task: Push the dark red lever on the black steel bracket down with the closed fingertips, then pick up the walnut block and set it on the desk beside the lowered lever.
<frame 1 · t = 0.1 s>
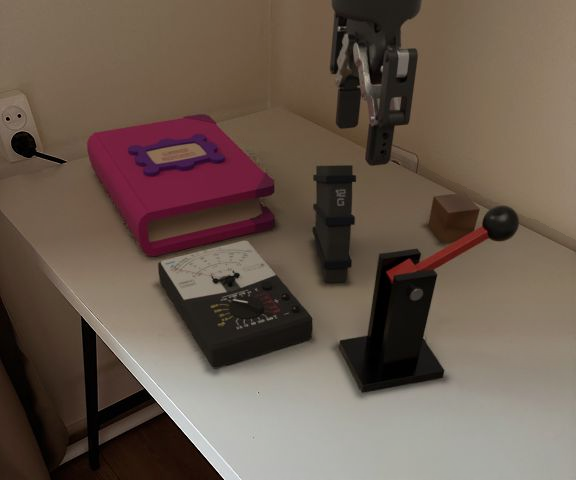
hand: (360, 144, 62), 24 cm above the table, tool pointing down, fingers open, 8 cm apart
block: (449, 232, 96), on the table
magazine: (328, 258, 91), on the table
lever: (453, 250, 66), point 15 cm above the table, hinge at 28.0°
bracket: (389, 362, 75), on the table
book: (180, 201, 101), on the table
multimeter: (232, 312, 82), on the table
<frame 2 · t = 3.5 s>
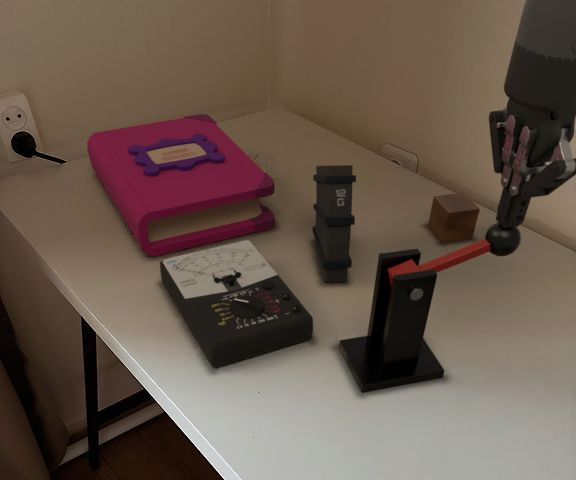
hand: (507, 223, 65), 17 cm above the table, tool pointing down, fingers closed
lever: (455, 257, 67), point 14 cm above the table, hinge at 17.0°, touching gripper
everything else where it was.
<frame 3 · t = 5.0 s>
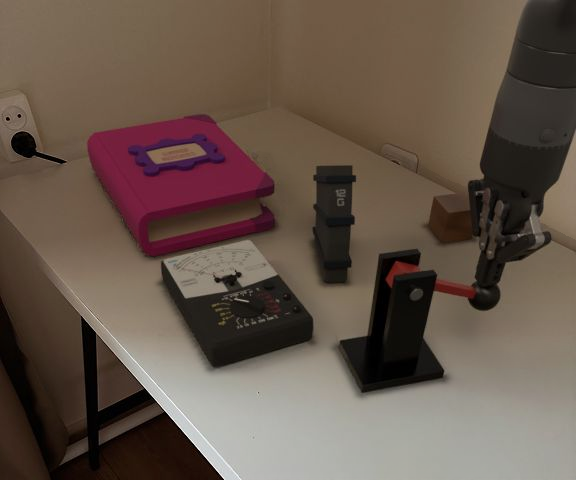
hand: (485, 282, 70), 10 cm above the table, tool pointing down, fingers closed
lever: (447, 287, 69), point 10 cm above the table, hinge at -21.2°, touching gripper
everything else where it was.
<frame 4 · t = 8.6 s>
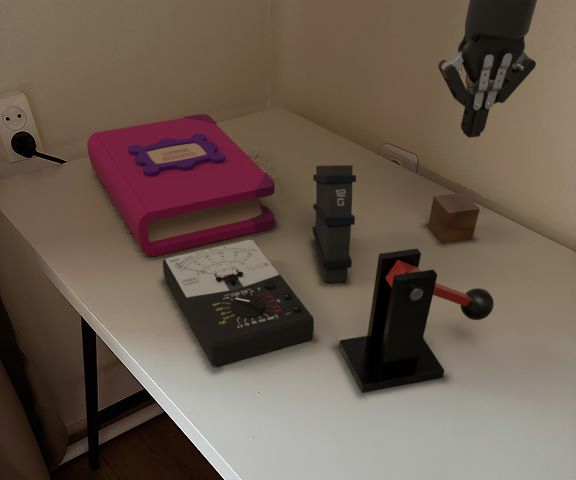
hand: (471, 134, 85), 15 cm above the table, tool pointing down, fingers closed
lever: (443, 292, 70), point 9 cm above the table, hinge at -28.0°
everything else where it was.
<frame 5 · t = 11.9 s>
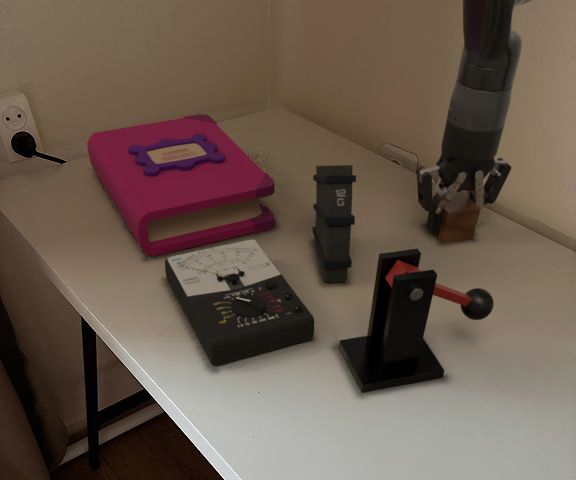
hand: (450, 230, 96), 0 cm above the table, tool pointing down, fingers closed on block, 5 cm apart
block: (449, 232, 96), on the table, touching gripper
everything else where it was.
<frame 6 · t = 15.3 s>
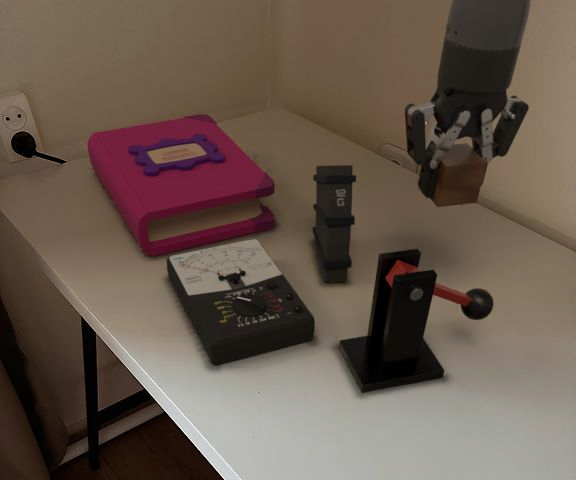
hand: (448, 191, 75), 15 cm above the table, tool pointing down, fingers closed on block, 5 cm apart
block: (447, 194, 75), point 14 cm above the table, touching gripper
everything else where it was.
when the fingers open (0 cm above the table, at t = 18.9 s): block stays where it is, on the table.
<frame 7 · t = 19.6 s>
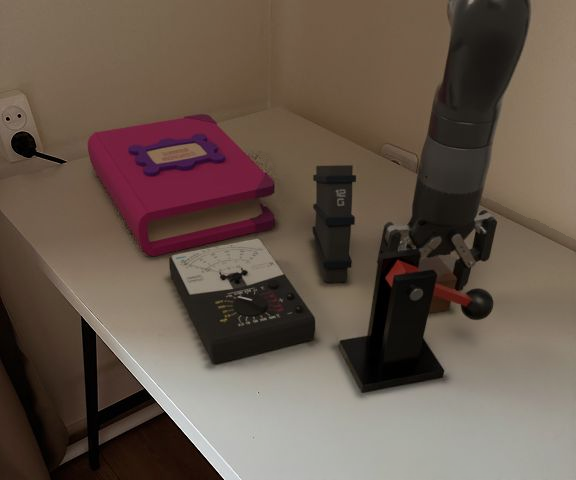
hand: (426, 292, 83), 1 cm above the table, tool pointing down, fingers open, 8 cm apart
block: (423, 301, 84), on the table
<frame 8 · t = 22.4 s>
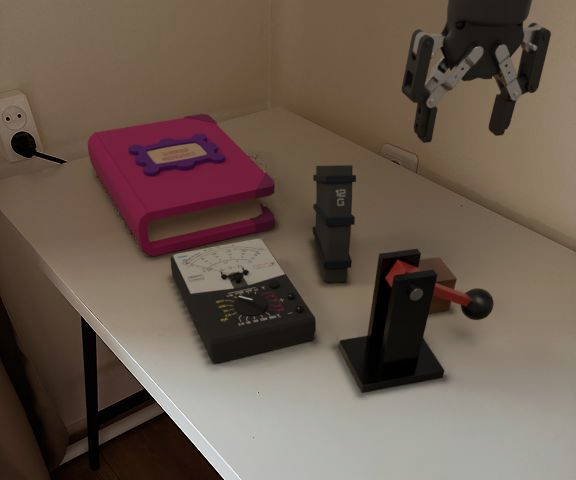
hand: (460, 136, 68), 22 cm above the table, tool pointing down, fingers open, 8 cm apart
at the end: lever at -28° (first picture: +28°); block inside the target area on the table beside the bracket (0.1 cm from its centre), on the table; block tilted 0° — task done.
